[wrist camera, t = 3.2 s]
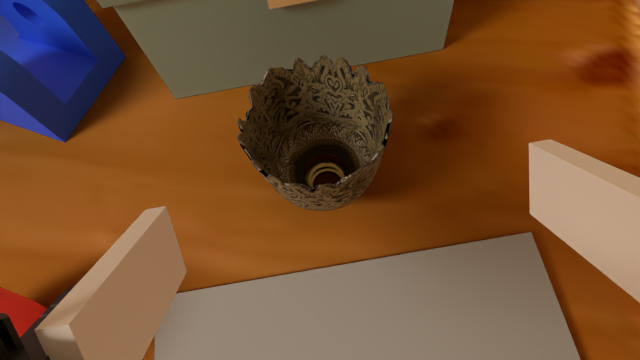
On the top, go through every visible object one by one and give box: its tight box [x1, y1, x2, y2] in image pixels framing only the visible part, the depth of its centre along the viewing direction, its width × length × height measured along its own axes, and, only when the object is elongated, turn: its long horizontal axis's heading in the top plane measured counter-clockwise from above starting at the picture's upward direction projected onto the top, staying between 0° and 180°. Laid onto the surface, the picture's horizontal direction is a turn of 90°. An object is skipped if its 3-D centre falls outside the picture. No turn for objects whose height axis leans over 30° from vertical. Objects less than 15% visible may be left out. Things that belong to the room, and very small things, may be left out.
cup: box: [237, 54, 393, 211], centre depth 24 cm, size 8×7×8 cm
